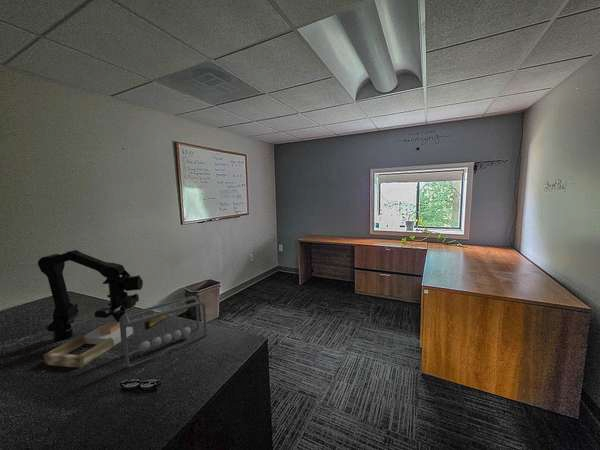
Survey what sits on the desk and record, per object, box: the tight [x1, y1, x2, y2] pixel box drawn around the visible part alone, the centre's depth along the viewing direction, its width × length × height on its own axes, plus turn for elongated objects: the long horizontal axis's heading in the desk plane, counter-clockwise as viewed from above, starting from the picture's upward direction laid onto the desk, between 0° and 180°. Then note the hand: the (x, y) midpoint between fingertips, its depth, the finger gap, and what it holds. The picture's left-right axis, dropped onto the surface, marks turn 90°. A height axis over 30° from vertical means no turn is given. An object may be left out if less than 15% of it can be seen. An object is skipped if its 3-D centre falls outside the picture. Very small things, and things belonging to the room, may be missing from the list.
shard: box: [148, 315, 166, 328], centre depth 124 cm, size 11×8×2 cm
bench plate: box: [83, 324, 134, 347], centre depth 110 cm, size 16×10×3 cm, turn 82°
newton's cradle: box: [119, 295, 208, 368], centre depth 102 cm, size 30×10×18 cm, turn 132°
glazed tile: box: [99, 321, 120, 334], centre depth 112 cm, size 6×6×2 cm
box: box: [43, 334, 114, 369], centre depth 98 cm, size 16×14×4 cm
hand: (120, 322), depth 116 cm, fingers closed
